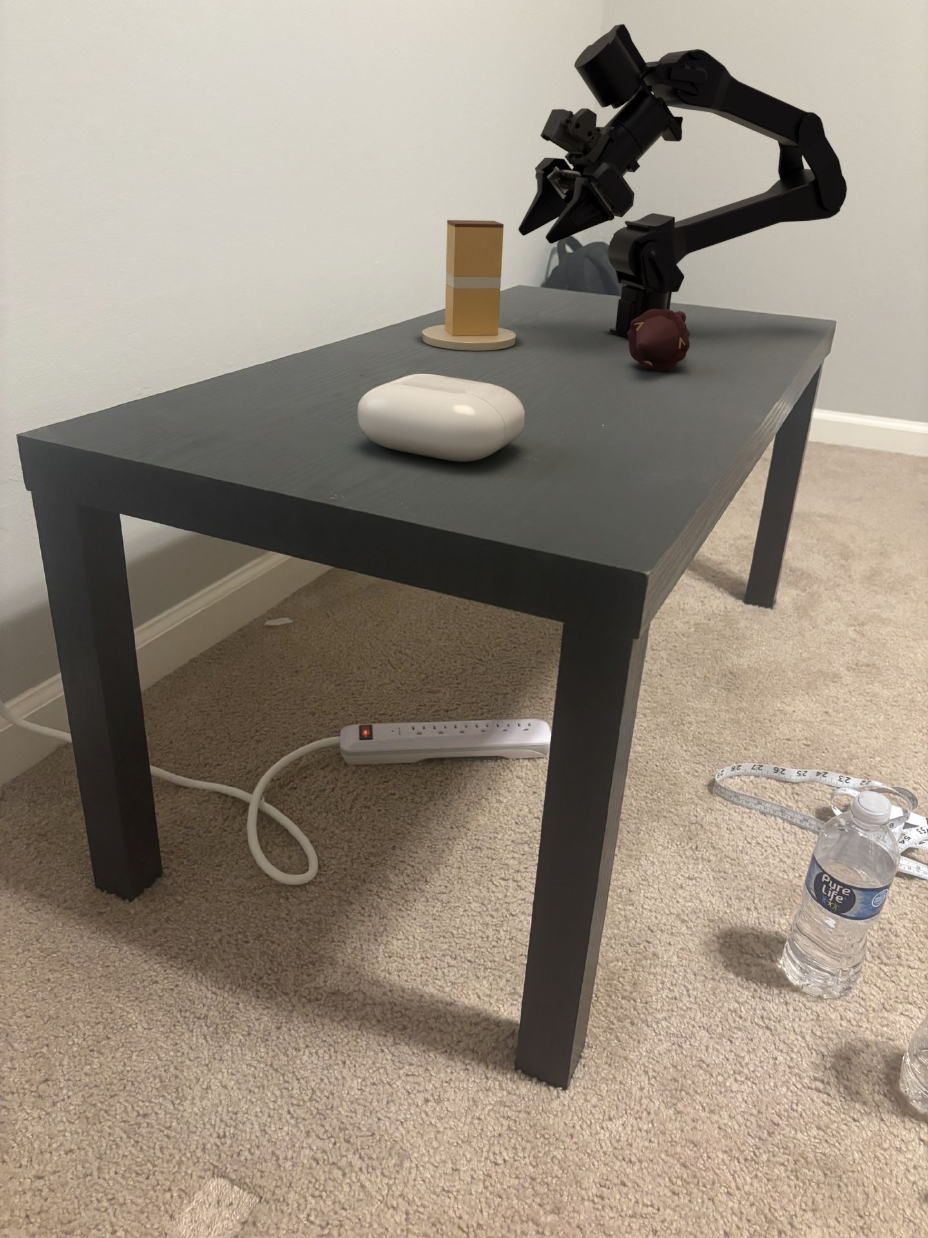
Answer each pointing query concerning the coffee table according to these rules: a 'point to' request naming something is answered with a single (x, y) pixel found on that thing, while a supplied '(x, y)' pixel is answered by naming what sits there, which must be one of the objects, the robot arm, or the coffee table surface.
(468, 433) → the earbud case
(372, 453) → the coffee table surface
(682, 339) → the maroon dungeon die
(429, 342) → the plate
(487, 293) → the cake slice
